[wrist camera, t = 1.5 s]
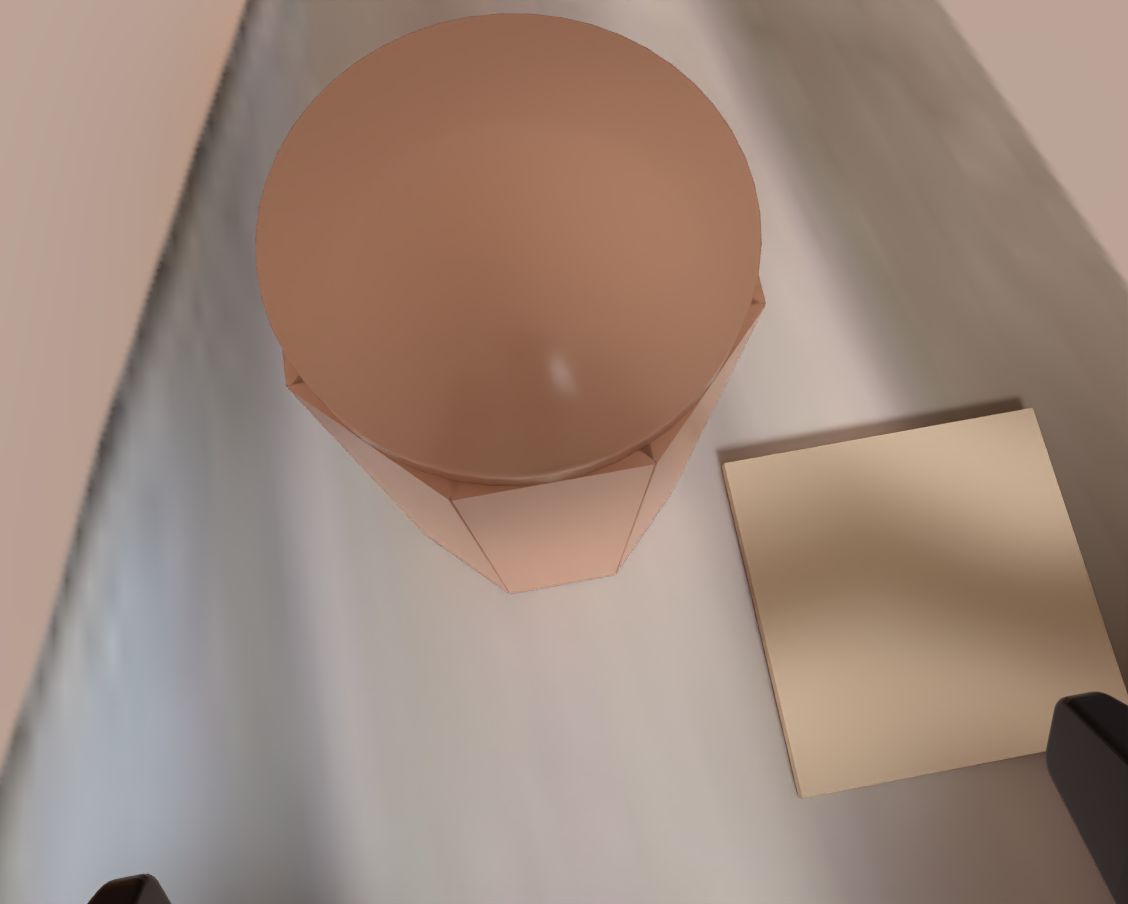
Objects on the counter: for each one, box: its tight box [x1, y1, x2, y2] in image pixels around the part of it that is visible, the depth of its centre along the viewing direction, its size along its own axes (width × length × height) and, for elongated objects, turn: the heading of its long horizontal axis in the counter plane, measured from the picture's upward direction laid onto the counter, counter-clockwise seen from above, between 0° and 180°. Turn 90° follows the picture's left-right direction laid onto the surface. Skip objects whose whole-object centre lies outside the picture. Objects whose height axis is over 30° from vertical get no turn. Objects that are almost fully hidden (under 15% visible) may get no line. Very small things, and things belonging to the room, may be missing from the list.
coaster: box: [722, 408, 1128, 798], centre depth 22 cm, size 8×8×1 cm
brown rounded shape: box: [256, 14, 766, 594], centre depth 17 cm, size 6×6×12 cm
